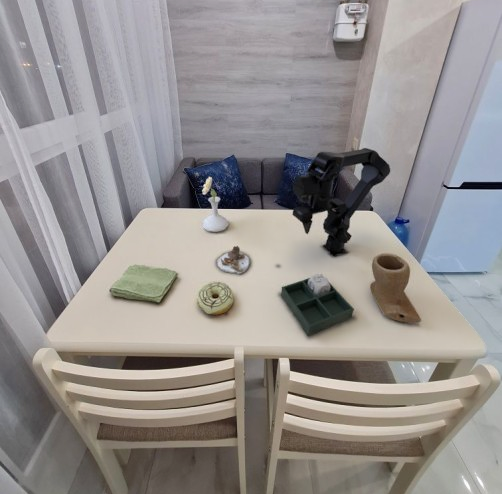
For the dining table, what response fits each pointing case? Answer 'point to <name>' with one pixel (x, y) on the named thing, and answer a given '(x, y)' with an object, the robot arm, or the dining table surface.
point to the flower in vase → (213, 211)
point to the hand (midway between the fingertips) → (317, 230)
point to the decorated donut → (217, 304)
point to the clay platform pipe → (392, 287)
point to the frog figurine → (233, 261)
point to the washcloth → (144, 283)
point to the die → (319, 284)
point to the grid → (316, 306)
